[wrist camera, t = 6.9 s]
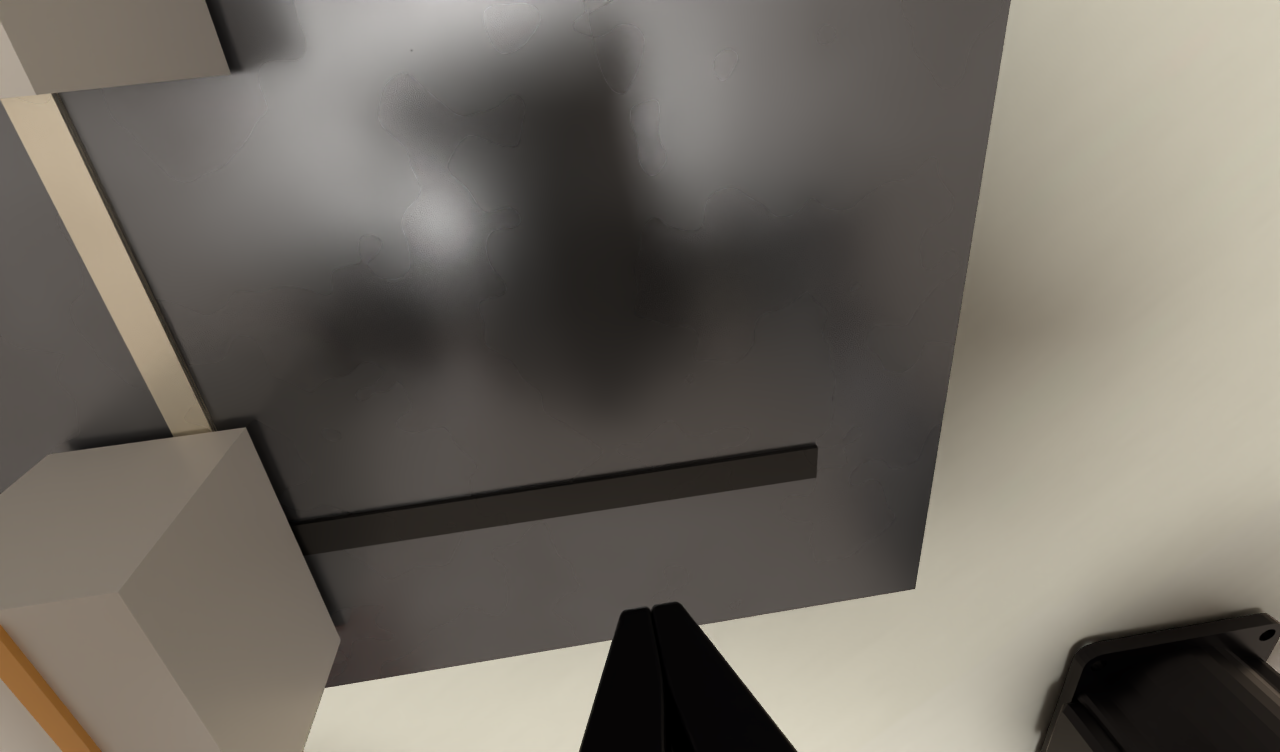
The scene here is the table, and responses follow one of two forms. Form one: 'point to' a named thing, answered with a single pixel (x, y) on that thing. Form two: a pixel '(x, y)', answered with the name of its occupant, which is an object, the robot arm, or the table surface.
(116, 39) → the fader
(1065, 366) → the table surface
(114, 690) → the fader
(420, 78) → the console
